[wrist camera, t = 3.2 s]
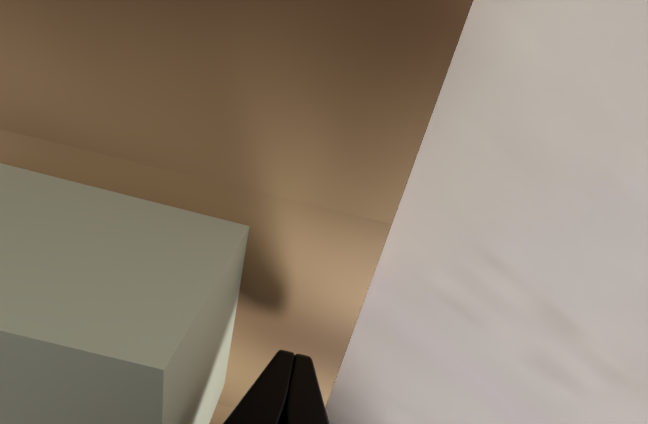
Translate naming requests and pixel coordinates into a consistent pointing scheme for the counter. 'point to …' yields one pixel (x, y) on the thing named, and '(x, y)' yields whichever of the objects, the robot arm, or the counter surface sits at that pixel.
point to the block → (111, 305)
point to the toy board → (240, 136)
